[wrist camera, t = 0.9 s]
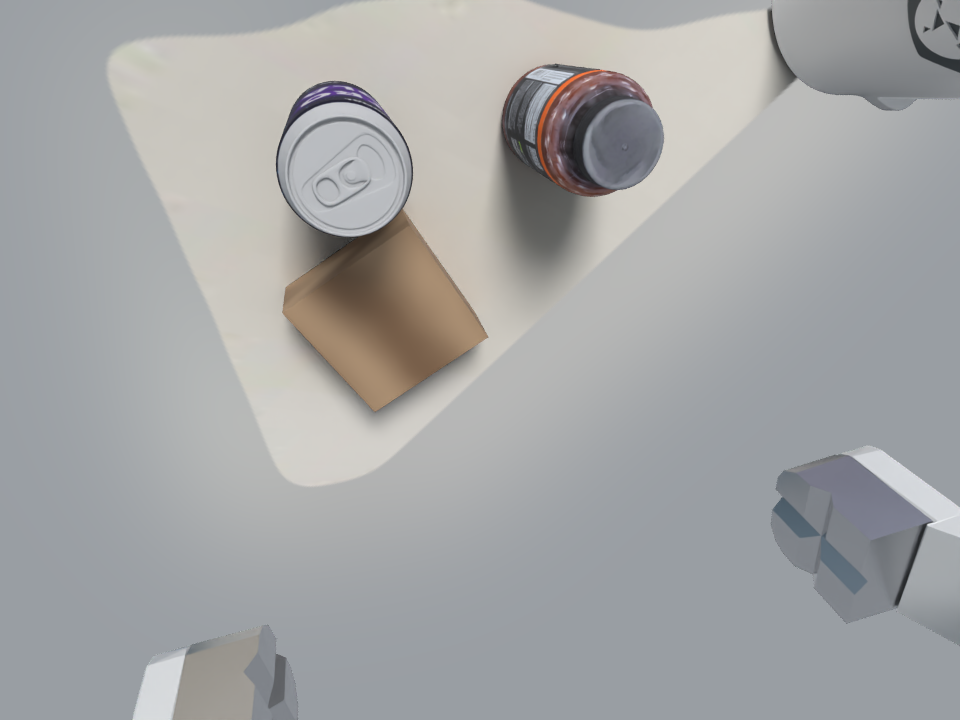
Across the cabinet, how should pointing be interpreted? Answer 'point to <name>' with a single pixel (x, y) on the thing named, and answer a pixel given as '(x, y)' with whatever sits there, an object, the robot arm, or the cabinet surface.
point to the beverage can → (343, 161)
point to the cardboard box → (383, 312)
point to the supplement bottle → (583, 128)
